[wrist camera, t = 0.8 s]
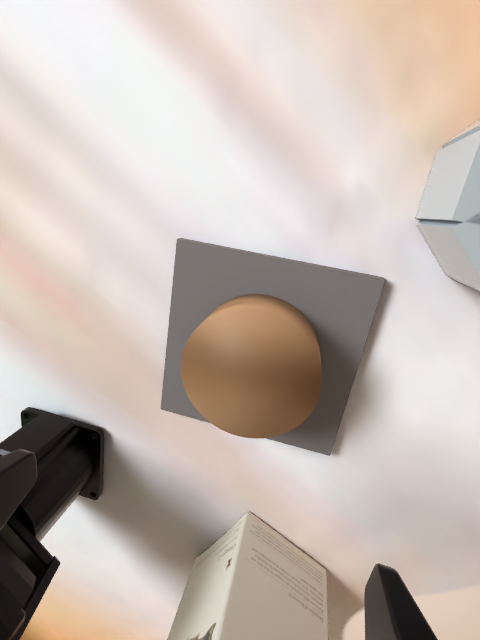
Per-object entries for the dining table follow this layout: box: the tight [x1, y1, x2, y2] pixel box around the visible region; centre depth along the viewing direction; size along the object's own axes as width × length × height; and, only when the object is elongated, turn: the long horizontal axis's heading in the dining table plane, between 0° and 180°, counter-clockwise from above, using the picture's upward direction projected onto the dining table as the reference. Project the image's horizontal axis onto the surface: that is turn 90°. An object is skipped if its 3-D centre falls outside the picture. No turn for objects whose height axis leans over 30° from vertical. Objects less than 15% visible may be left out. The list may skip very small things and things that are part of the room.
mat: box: [161, 238, 385, 456], centre depth 19 cm, size 11×11×1 cm
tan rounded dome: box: [181, 294, 322, 438], centre depth 18 cm, size 7×7×3 cm
